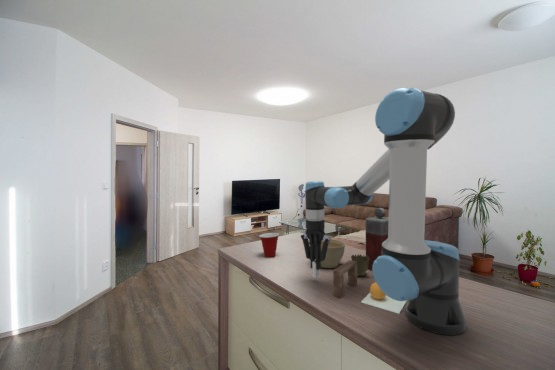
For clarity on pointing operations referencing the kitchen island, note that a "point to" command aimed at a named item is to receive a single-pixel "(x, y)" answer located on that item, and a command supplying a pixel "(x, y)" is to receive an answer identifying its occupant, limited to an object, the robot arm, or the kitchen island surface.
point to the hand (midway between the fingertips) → (315, 276)
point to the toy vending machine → (376, 235)
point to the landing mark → (384, 303)
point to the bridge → (339, 277)
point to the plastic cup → (269, 244)
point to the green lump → (361, 264)
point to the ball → (376, 291)
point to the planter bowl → (333, 253)
